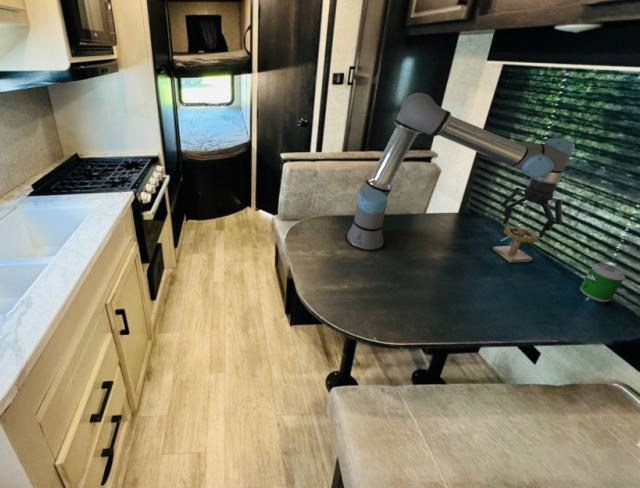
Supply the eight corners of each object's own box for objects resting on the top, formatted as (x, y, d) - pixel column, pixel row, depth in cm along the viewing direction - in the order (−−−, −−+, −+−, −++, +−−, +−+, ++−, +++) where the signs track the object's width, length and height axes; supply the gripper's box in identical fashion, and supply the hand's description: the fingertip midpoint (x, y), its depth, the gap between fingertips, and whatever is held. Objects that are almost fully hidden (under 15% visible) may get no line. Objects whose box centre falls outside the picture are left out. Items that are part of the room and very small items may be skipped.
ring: (496, 230, 132) (498, 226, 131) (520, 229, 133) (521, 225, 132) (518, 244, 123) (520, 240, 122) (543, 243, 123) (545, 238, 122)
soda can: (612, 298, 109) (630, 271, 104) (604, 306, 106) (622, 279, 101) (582, 285, 115) (598, 259, 110) (574, 292, 112) (590, 266, 106)
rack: (492, 249, 135) (503, 222, 130) (512, 248, 136) (523, 221, 130) (510, 262, 127) (522, 234, 121) (531, 261, 128) (544, 233, 122)
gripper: (502, 172, 124) (484, 220, 133) (585, 193, 106) (557, 247, 115) (510, 168, 128) (492, 215, 137) (591, 188, 110) (564, 240, 119)
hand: (522, 229), depth 126 cm, fingers open, 11 cm apart
